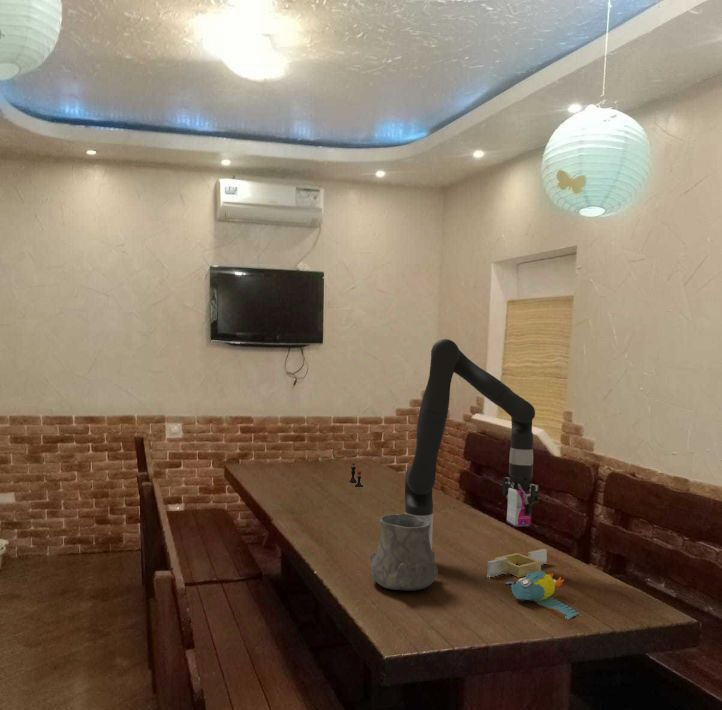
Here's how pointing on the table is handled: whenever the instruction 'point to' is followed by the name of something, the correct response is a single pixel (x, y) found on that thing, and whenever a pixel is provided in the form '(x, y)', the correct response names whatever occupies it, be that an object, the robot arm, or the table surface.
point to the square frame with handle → (509, 563)
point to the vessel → (404, 553)
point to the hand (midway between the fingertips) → (519, 512)
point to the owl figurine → (541, 591)
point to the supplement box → (517, 509)
